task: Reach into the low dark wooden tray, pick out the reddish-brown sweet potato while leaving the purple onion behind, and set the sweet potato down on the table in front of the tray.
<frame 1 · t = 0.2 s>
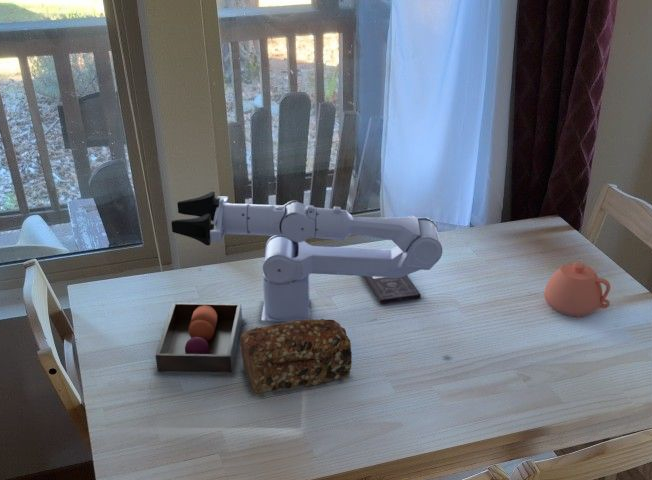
hand: (175, 216, 156), 21 cm above the table, tool horizontal, fingers open, 7 cm apart
chocolate bar: (386, 281, 183), on the table
sugar bowl: (574, 308, 177), on the table
sweet potato: (204, 334, 161), point 1 cm above the table, touching dark wooden tray
bread: (296, 374, 154), on the table
onion: (198, 358, 155), point 1 cm above the table, touching dark wooden tray
dark wooden tray: (202, 346, 159), on the table
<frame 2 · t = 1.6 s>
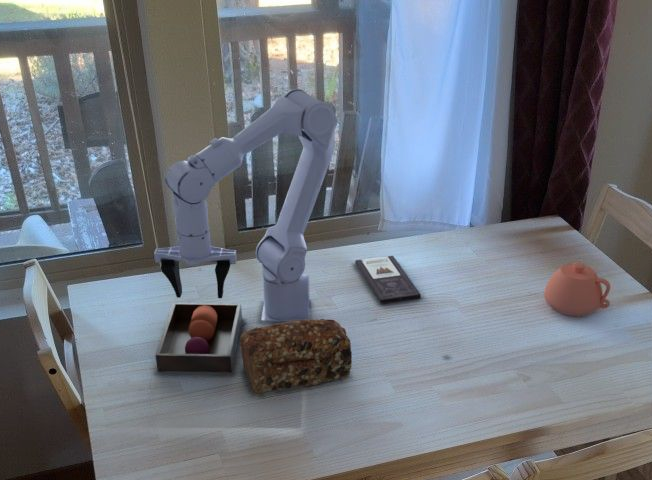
hand: (200, 295, 156), 9 cm above the table, tool pointing down, fingers open, 7 cm apart
nothing on the table moved.
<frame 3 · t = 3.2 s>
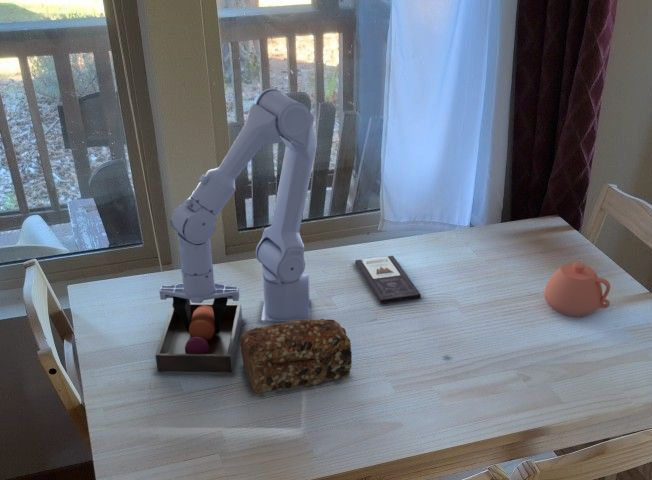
hand: (203, 330, 161), 2 cm above the table, tool pointing down, fingers closed on sweet potato, 5 cm apart
sweet potato: (204, 334, 161), point 1 cm above the table, touching dark wooden tray, gripper
everything else where it was.
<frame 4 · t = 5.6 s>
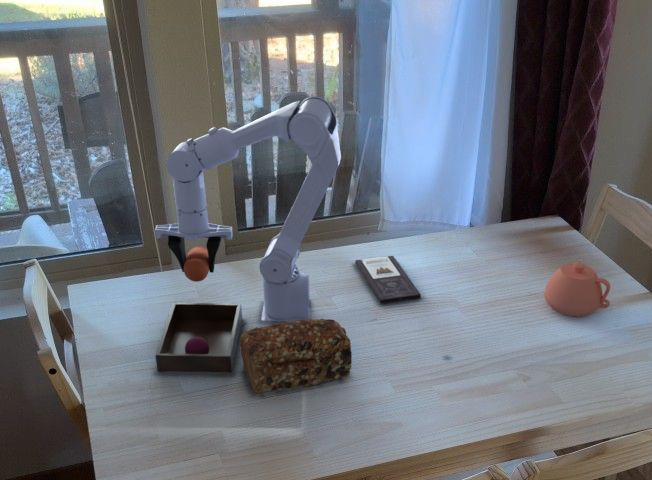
hand: (198, 269, 166), 8 cm above the table, tool pointing down, fingers closed on sweet potato, 5 cm apart
sweet potato: (199, 274, 166), point 7 cm above the table, touching gripper
everything else where it was.
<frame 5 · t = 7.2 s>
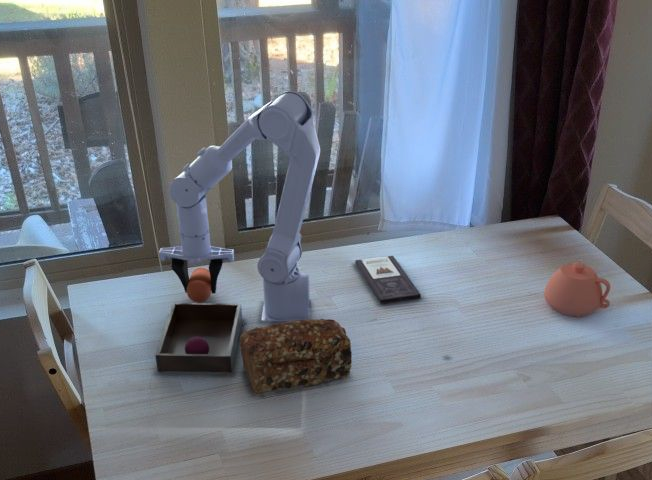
hand: (200, 290, 171), 2 cm above the table, tool pointing down, fingers closed on sweet potato, 5 cm apart
sweet potato: (201, 295, 172), point 1 cm above the table, touching gripper
everything else where it was.
when the fingers open (1 cm above the table, at t = 8.1 s): sweet potato stays where it is, on the table.
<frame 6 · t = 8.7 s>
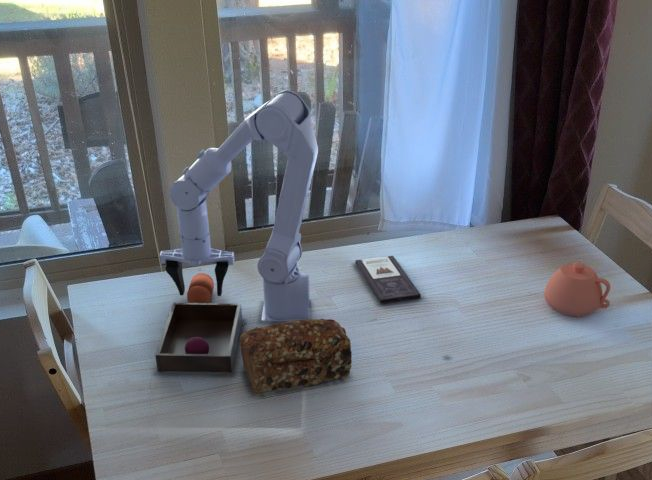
hand: (201, 293, 171), 2 cm above the table, tool pointing down, fingers open, 7 cm apart
sweet potato: (201, 300, 172), on the table
everything else where it was.
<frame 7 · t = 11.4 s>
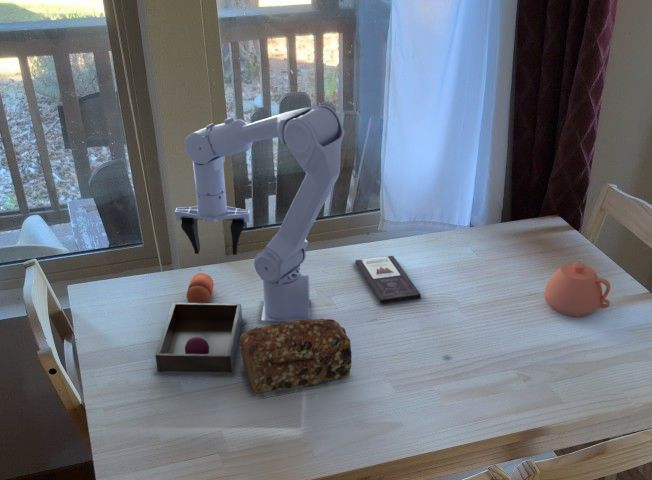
hand: (216, 252, 170), 9 cm above the table, tool pointing down, fingers open, 7 cm apart
nothing on the table moved.
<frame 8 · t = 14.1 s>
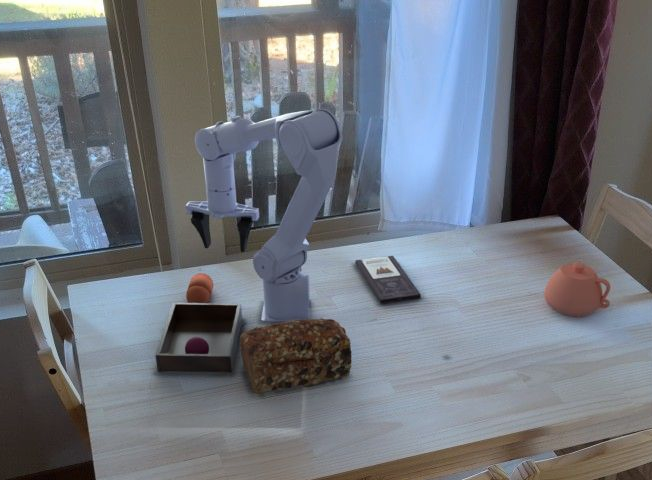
hand: (225, 248, 172), 9 cm above the table, tool pointing down, fingers open, 7 cm apart
nothing on the table moved.
at the end: sweet potato inside the target area (0.2 cm from its centre), on the table; the gripper is holding nothing; onion moved 0.1 cm from its start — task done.
